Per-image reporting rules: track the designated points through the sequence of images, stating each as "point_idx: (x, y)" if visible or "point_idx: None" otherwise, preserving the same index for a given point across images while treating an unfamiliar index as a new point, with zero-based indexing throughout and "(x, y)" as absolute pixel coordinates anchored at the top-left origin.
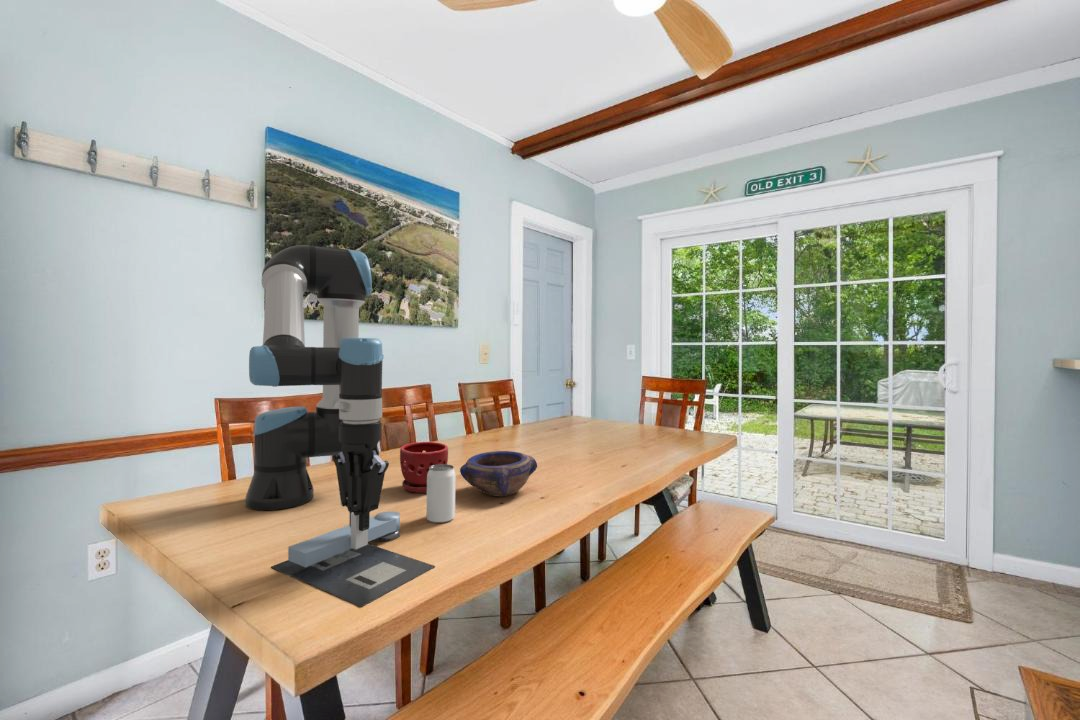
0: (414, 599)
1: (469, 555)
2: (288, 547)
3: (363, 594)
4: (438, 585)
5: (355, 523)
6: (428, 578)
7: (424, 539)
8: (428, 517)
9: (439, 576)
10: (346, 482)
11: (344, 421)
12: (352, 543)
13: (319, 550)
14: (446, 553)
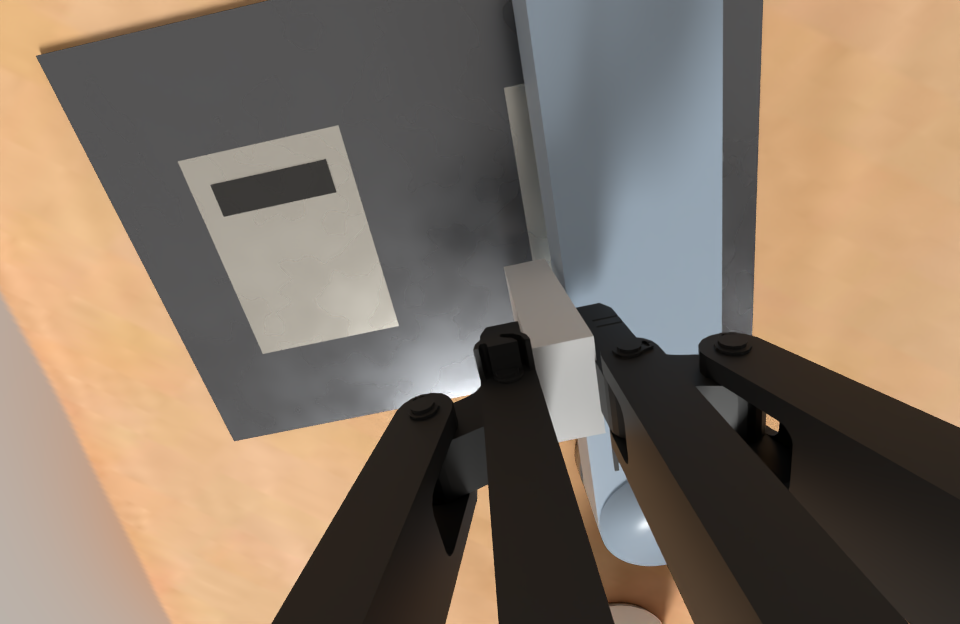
0: (9, 258)
1: (254, 553)
2: None
3: (143, 117)
4: (81, 375)
5: (525, 318)
6: (158, 378)
7: (489, 522)
8: (626, 616)
9: (152, 412)
10: (919, 537)
11: None
12: (533, 268)
13: (531, 56)
14: (321, 515)
